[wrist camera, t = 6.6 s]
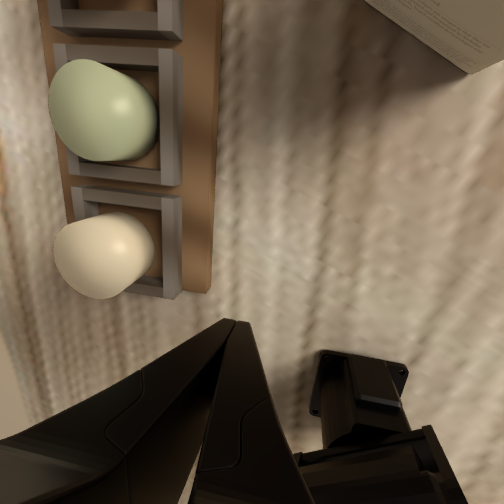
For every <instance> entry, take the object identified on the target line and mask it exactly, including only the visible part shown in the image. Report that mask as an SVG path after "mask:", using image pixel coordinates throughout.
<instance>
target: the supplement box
mask: <svg viewBox="0 0 504 504" xmlns="http://www.w3.org/2000/svg"><path fill="white" fill-rule="evenodd" d="M365 1H366V2H367V3H368V4H370V5H371V6H372V7H374V8H375V9H377V10H378V11H379V12H381V13H382V14H383V15H385V16H386V17H388V18H389V19H391V20H392V21H394V22H395V23H396V24H398V25H399V26H401V27H402V28H403V29H404V30H406V31H407V32H409V33H410V34H412V35H413V36H415V37H416V38H417V39H419V40H420V41H422V42H423V43H424V44H426V45H427V46H429V47H430V48H432V49H433V50H435V51H436V52H437V53H439V54H440V55H442V56H443V57H445V58H446V59H448V60H449V61H451V62H452V63H453V64H454V65H456V66H457V67H459V68H460V69H462V70H464V71H465V72H467V73H468V74H474V73H476V72H479V71H481V70H483V69H485V68H487V67H489V66H491V65H493V64H495V63H497V62H499V61H501V60H503V59H504V0H365Z"/></svg>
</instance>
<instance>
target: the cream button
mask: <svg viewBox="0 0 504 504" xmlns="http://www.w3.org/2000/svg"><path fill="white" fill-rule="evenodd" d="M53 253H54V259H55V263H56V266H57V268H58V270H59V272H60V274H61V276H62V277H63V278H64V280H65V281H66V282H67V283H68V284H69V285H70V286H71V287H72V288H73V289H75V290H76V291H77V292H79V293H81V294H83V295H85V296H87V297H90V298H94V299H108V298H112V297H114V296H116V295H117V294H119V293H120V292H121V291H123V290H124V289H125V288H127V287H128V286H129V285H131V284H132V283H133V282H135V281H136V280H137V279H139V278H140V277H141V276H143V275H144V274H145V273H147V272H148V271H149V269H150V268H151V266H152V264H153V261H154V256H155V249H154V244H153V240H152V238H151V236H150V234H149V232H148V230H147V229H146V228H145V226H144V225H143V224H142V223H141V222H140V221H138V220H137V219H136V218H134V217H133V216H131V215H129V214H126V213H123V212H108V213H104V214H101V215H97V216H94V217H91V218H87V219H84V220H81V221H77V222H74V223H71V224H68V225H66V226H65V227H63V228H62V229H61V230H60V232H59V233H58V234H57V236H56V238H55V241H54V247H53Z"/></svg>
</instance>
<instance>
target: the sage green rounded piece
mask: <svg viewBox="0 0 504 504" xmlns="http://www.w3.org/2000/svg"><path fill="white" fill-rule="evenodd" d="M48 106H49V113H50V117H51V121H52V124H53V126H54V129H55V130H56V132H57V134H58V136H59V137H60V139H61V140H62V142H63V143H64V144H65V145H66V146H67V147H68V148H69V149H70V150H71V151H72V152H74V153H75V154H77V155H78V156H80V157H82V158H84V159H88V160H92V161H119V160H135V159H139V158H141V157H143V156H145V155H146V154H147V153H149V152H150V151H151V149H152V148H153V147H154V145H155V143H156V141H157V139H158V135H159V130H160V116H159V111H158V108H157V105H156V102H155V100H154V98H153V97H152V95H151V93H150V92H149V91H148V89H147V88H146V87H145V86H144V85H143V84H141V83H140V82H139V81H137V80H136V79H134V78H131V77H129V76H127V75H125V74H123V73H120V72H118V71H116V70H114V69H111V68H109V67H107V66H105V65H102V64H100V63H98V62H96V61H92V60H87V59H78V60H73V61H71V62H68V63H67V64H65V65H63V66H62V67H61V68H60V69H59V70H58V72H57V73H56V74H55V76H54V78H53V80H52V82H51V85H50V89H49V95H48Z"/></svg>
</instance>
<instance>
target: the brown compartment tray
mask: <svg viewBox="0 0 504 504" xmlns="http://www.w3.org/2000/svg"><path fill="white" fill-rule="evenodd" d="M37 3H38V10H39V17H40V25H41V32H42V39H43V47H44V54H45V61H46V69H47V76H48V83H49V89H50V85H51V82H52V80H53V78H54V76H55V74H56V73H57V72H58V70H59V69H60V68H61V67H62V66H63V65H65V64H67V63H68V62H71V61H73V60H78V59H87V60H92V61H96V62H98V63H100V64H102V65H105V66H107V67H109V68H111V69H114V70H116V71H118V72H120V73H123V74H125V75H127V76H129V77H131V78H134V79H136V80H137V81H139V82H140V83H141V84H143V85H144V86H145V87H146V88H147V89H148V91H149V92H150V93H151V95H152V97H153V98H154V100H155V102H156V105H157V108H158V111H159V116H160V130H159V135H158V139H157V141H156V143H155V145H154V147H153V148H152V149H151V151H150V152H149V153H147V154H146V155H145V156H143V157H141V158H139V159H135V160H119V161H92V160H88V159H84V158H82V157H80V156H78V155H77V154H75V153H74V152H72V151H71V150H70V149H69V148H68V147H67V146H66V145H65V144H64V143H63V142H62V140H61V139H60V137H59V136H58V134H57V132H56V130H55V135H56V142H57V149H58V157H59V164H60V171H61V179H62V186H63V194H64V201H65V208H66V216H67V223H68V224H71V223H74V222H77V221H81V220H84V219H87V218H91V217H94V216H97V215H101V214H104V213H108V212H123V213H126V214H129V215H131V216H133V217H134V218H136V219H137V220H138V221H140V222H141V223H142V224H143V225H144V226H145V228H146V229H147V230H148V232H149V234H150V236H151V238H152V240H153V244H154V249H155V256H154V261H153V264H152V266H151V268H150V269H149V271H148V272H147V273H145V274H144V275H143V276H141V277H140V278H139V279H137V280H136V281H135V282H133V283H132V284H131V285H129V286H128V287H127V288H125V289H124V290H123V291H126V292H132V293H137V294H143V295H149V296H155V297H161V298H167V299H172V300H174V299H175V298H176V297H177V296H178V295H179V294H180V292H181V291H182V290H186V291H192V292H198V293H204V294H206V293H207V291H208V290H209V289H210V287H211V268H212V245H213V222H214V198H215V175H216V152H217V129H218V106H219V83H220V60H221V36H222V13H223V0H37Z"/></svg>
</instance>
